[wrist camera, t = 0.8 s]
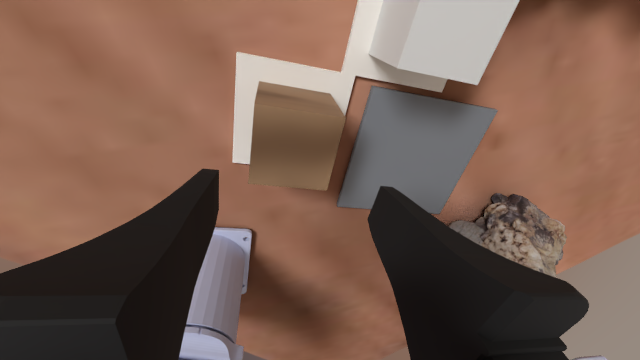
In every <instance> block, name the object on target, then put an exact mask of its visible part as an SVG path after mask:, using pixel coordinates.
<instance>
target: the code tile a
mask: <svg viewBox="0 0 640 360" xmlns="http://www.w3.org/2000/svg"><path fill="white" fill-rule="evenodd" d="M354 80H355V75H350V74H345V73H341V72H338V71H333V70H328V69H323V68H318V67H313V66H308V65H303V64H297V63H292V62H287V61H282V60H277V59H272V58H267V57H262V56H257V55H252V54H247V53H242V52H237V55H236V82H235V109H234V136H233V163H242V164H250V154H251V141H252V128H253V114H254V103H255V98H256V93H257V88H258V83H259V81H262V82H267V83H273V84H279V85H284V86H290V87H296V88H301V89H307V90H313V91H318V92H324V93H330V94H331V95H332V97H333V99H334V100H335V102H336V103H337V105H338V106H339V108H340V109H341V111H342V112H343V114H344V115H345V114H346V110H347V106H348V103H349V99H350V95H351V91H352V87H353V83H354Z"/></svg>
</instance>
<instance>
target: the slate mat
mask: <svg viewBox="0 0 640 360" xmlns="http://www.w3.org/2000/svg"><path fill="white" fill-rule="evenodd" d="M497 111H498V110H496V109H492V108H487V107H482V106H476V105H471V104H466V103H461V102H455V101H450V100H445V99H440V98H434V97H429V96H424V95H419V94H413V93H408V92H403V91H398V90H392V89H387V88H382V87H377V86H372V87H371V90H370V93H369V97H368V100H367V104H366V107H365V110H364V114H363V117H362V120H361V124H360V127H359V130H358V134H357V137H356V141H355V144H354V147H353V151H352V154H351V157H350V161H349V164H348V168H347V171H346V174H345V178H344V181H343V184H342V188H341V191H340V194H339V198H338V201H337V207H349V208H363V209H372V206H373V204H374V201H375V199H376V196H377V194H378V191H379V188H380V186H388V187H393V188H395V189H397V190H398V191H400V192H401V193H403V194H404V195H405V196H407V197H408V198H409V199H411V200H412V201H413V202H415V203H416V204H417V205H419V206H420V207H421V208H423V209H424V210H425V211H427V212H428V213H431V214H440V212H441V210H442V209H443V207H444V205H445V203H446V202H447V200H448V198H449V196H450V194H451V193H452V191H453V189H454V187H455V186H456V184H457V182H458V180H459V178H460V177H461V175H462V173H463V171H464V170H465V168H466V166H467V164H468V163H469V161H470V159H471V157H472V155H473V154H474V152H475V150H476V148H477V147H478V145H479V143H480V141H481V139H482V138H483V136H484V134H485V132H486V131H487V129H488V127H489V125H490V123H491V122H492V120H493V118H494V116H495V115H496V113H497Z"/></svg>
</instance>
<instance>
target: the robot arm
mask: <svg viewBox="0 0 640 360" xmlns="http://www.w3.org/2000/svg"><path fill="white" fill-rule="evenodd" d="M218 210H219V170H211V169H202V170H200V171H199V172H198V173H197V174H196V175H194V176H193V177H192V178H191V179H190V180H188V181H187V182H186V183H185V184H184V185H182V186H181V187H180V188H179V189H177V190H176V191H175V192H173V193H172V194H171V195H170V196H168V197H167V198H165V199H164V200H163V201H161V202H160V203H158V204H157V205H155V206H154V207H153V208H151V209H149V210H148V211H146V212H145V213H143V214H141V215H139V216H138V217H136V218H134V219H132V220H131V221H129V222H127V223H125V224H123V225H121V226H119V227H117V228H115V229H113V230H111V231H109V232H107V233H105V234H103V235H101V236H98V237H96V238H94V239H92V240H90V241H87V242H85V243H83V244H80V245H78V246H76V247H73V248H71V249H68V250H65V251H63V252H60V253H58V254H55V255H53V256H50V257H47V258H45V259H42V260H39V261H36V262H33V263H30V264H27V265H24V266H21V267H18V268H15V269H12V270H9V271H6V272H4V273H1V274H0V360H243V349H244V347H243V346H240V345H237V344H236V338H237V329H238V320H239V311H240V302H241V294H244V293H246V291H247V280H248V270H249V259H250V249H251V239H252V231H251V230H249V229H238V228H218V227H215V224H216V220H217V215H218ZM368 223H369V227H370V231H371V235H372V238H373V241H374V243H375V246H376V248H377V251H378V253H379V256H380V258H381V260H382V263H383V265H384V268H385V270H386V273H387V275H388V277H389V280H390V283H391V285H392V288H393V291H394V295H395V298H396V302H397V305H398V308H399V312H400V316H401V320H402V324H403V328H404V332H405V336H406V340H407V345H408V349H409V354H410V358H411V360H569V359H568V358H567V357H566V356H565V354H564V353H563V352H562V351H565V350H566V349H567V347H566V345H565V344H564V342H563V341H562V340H561V339H560V338H559V337H560V336H561V335H562V334H564V333H565V332H566V331H567V330H568V329H570V328H571V327H572V326H574V324H576V323H577V322H578V321H580V320H581V319H582V318H583V317H584V315H585V314H586V313H587V311H588V308H589V303H588V300H587V299H586V298H585V297H584V296H583V295H582V294H580V293H579V292H578V291H577V290H576V289H575V288H574V287H573V286H571V285H570V284H569V283H567V282H566V281H563V280H561V279H558V278H555V277H552V276H550V275H547V274H544V273H542V272H539V271H536V270H533V269H531V268H528V267H526V266H524V265H521V264H519V263H517V262H514V261H512V260H510V259H507V258H505V257H503V256H501V255H499V254H497V253H495V252H493V251H491V250H489V249H487V248H485V247H483V246H481V245H479V244H477V243H475V242H473V241H472V240H470V239H468V238H466V237H465V236H463V235H461V234H460V233H458V232H456V231H455V230H453V229H451V228H450V227H448V226H447V225H445V224H444V223H442V222H441V221H440V220H438V219H437V218H435V217H434V216H432V215H431V214H430V213H428V212H427V211H425V210H424V209H423V208H421V207H420V206H419V205H417V204H416V203H415V202H413V201H412V200H411V199H409V198H408V197H407V196H405V195H404V194H403V193H401V192H400V191H398V190H397V189H395V188H393V187H388V186H380V188H379V191H378V194H377V196H376V199H375V201H374V204H373V206H372V209H371V212H370V214H369V217H368ZM245 237H247V238H245ZM572 360H607V359H606V358H605V357H604V356H589V357H579V358H575V359H572Z"/></svg>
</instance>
